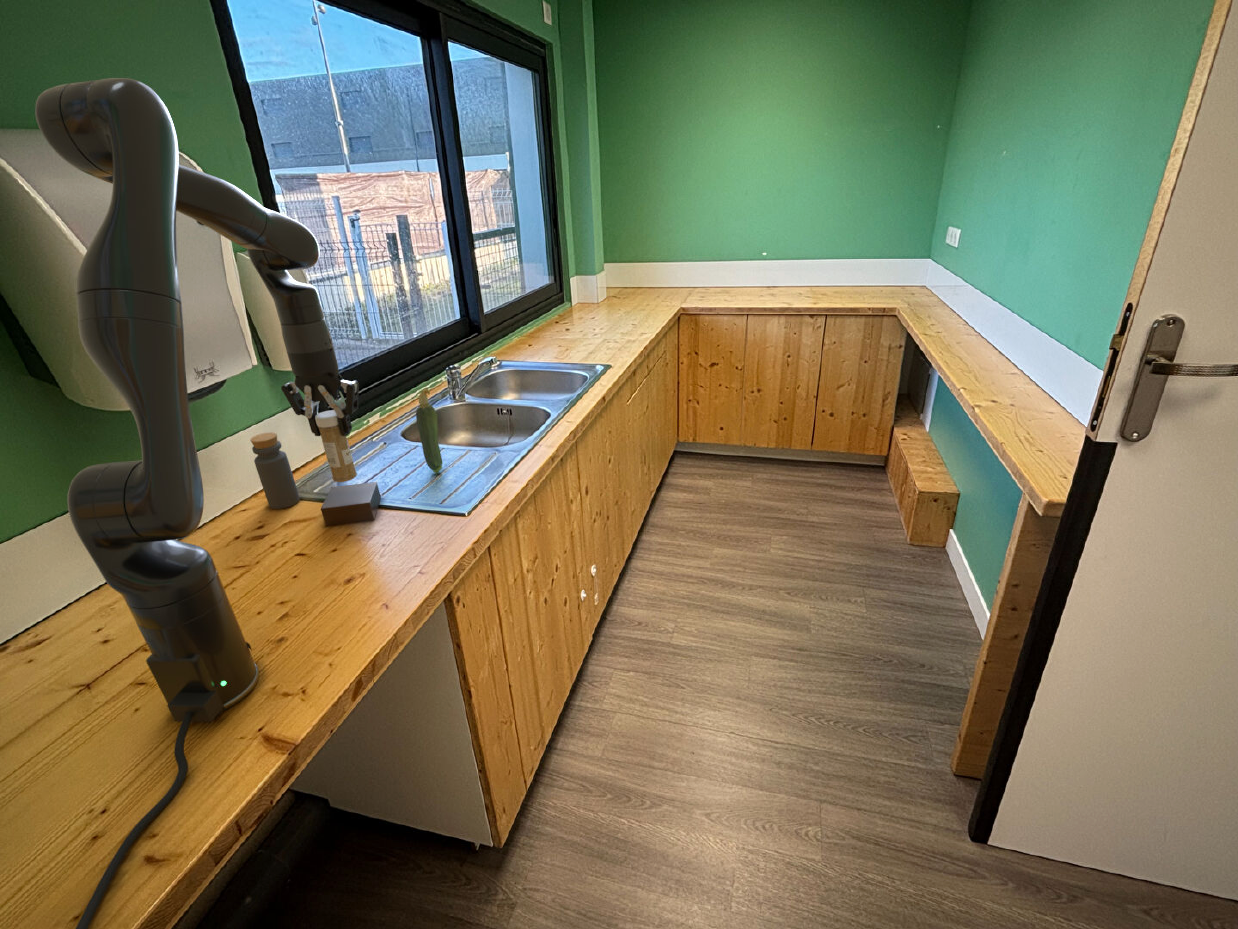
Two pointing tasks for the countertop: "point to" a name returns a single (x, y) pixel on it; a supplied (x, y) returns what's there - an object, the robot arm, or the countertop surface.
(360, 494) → the block
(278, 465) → the bottle
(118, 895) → the countertop surface
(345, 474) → the sprinkles bottle
